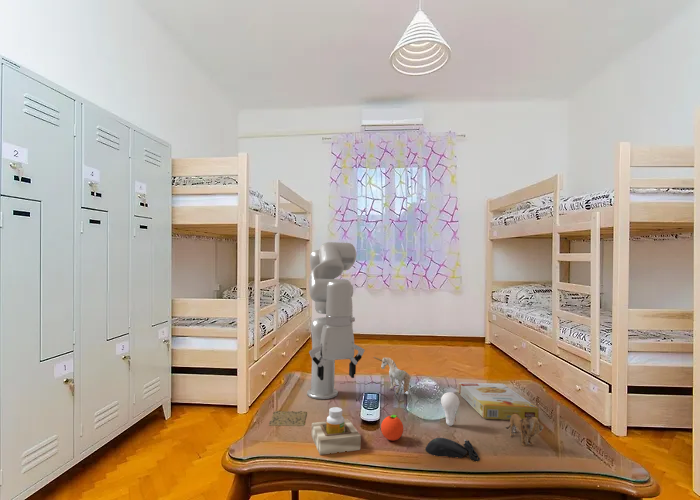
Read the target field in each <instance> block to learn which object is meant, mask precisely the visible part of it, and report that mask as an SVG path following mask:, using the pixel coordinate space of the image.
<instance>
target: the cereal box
mask: <svg viewBox="0 0 700 500" xmlns="http://www.w3.org/2000/svg"><path fill="white" fill-rule="evenodd" d="M459 393H460V394H459ZM458 394H459V396H460V397H462V398H463V399H464V400H465V401H466V402H467V404H469V405H470V406H471V407H472V408H473V410H475V411H476V412H477V413H478V414H479V415H480V416H481V417H482V418H483V419H485V420H507V421H510V419H511V416H512V415H513V414H517V415H519V416H520V418H521V419H523V418H529V417H536V418H538V419H539V417H540V416H539V415H540V413H539V410H540V409H539V407H537V406H536V405H535V404H533V403H532V402H530V401H529V400H528V399H526V398H524V397H523V395H522V396H521V395H520V394H519V393H517V392H516V391H514V390H513V389H511V387H509V386H507V385H506V384H505V383H491V382H490V383H489V382H486V383H485V382H459V383H458Z"/></svg>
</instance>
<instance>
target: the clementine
mask: <svg viewBox="0 0 700 500" xmlns="http://www.w3.org/2000/svg"><path fill="white" fill-rule="evenodd" d="M380 429H381V433H382V435H383V437H384V438H385V439H386V440H389V441H398V440H399V439H400V438H401V437H402V436H403V434H404V424H403V422H402V420H401V419H400V418H399V417H398V415H396V414H392V415H389V416H386V417H385V418H384V419H383V420H382V421H381V424H380Z"/></svg>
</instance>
